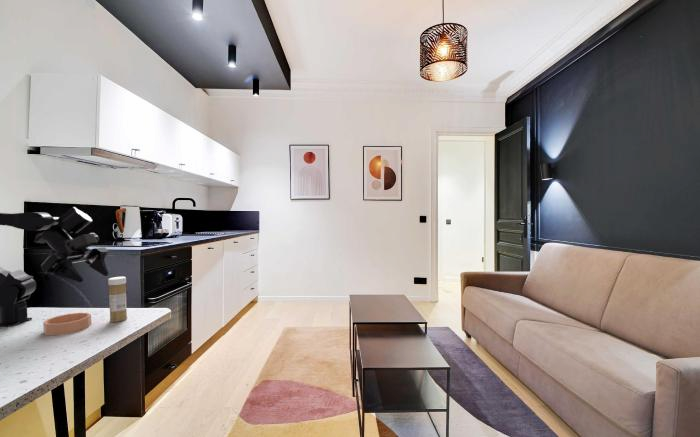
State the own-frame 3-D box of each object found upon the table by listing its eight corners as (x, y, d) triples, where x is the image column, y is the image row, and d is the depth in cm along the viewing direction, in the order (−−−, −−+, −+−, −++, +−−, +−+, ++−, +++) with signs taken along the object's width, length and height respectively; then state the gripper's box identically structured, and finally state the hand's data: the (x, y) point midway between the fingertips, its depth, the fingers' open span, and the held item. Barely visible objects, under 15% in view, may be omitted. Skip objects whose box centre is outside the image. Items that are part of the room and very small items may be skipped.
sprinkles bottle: (126, 316, 107) (125, 275, 106) (127, 320, 103) (126, 277, 103) (108, 319, 104) (107, 277, 103) (109, 323, 100) (108, 279, 100)
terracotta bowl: (34, 334, 92) (33, 323, 92) (68, 321, 102) (68, 312, 102) (67, 335, 91) (67, 324, 91) (99, 322, 101) (98, 313, 101)
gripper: (48, 226, 95) (84, 265, 94) (102, 223, 113) (133, 256, 113) (24, 254, 96) (60, 292, 95) (82, 246, 114) (113, 278, 113)
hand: (95, 278), depth 104 cm, fingers open, 9 cm apart
